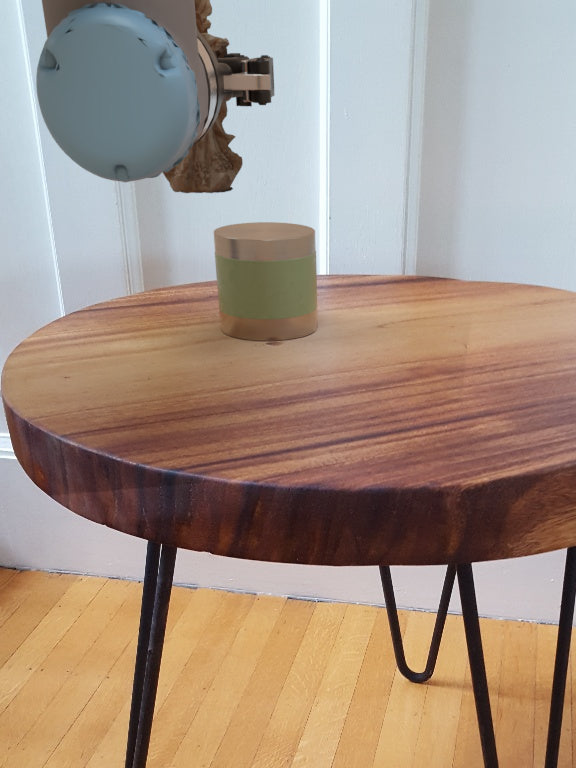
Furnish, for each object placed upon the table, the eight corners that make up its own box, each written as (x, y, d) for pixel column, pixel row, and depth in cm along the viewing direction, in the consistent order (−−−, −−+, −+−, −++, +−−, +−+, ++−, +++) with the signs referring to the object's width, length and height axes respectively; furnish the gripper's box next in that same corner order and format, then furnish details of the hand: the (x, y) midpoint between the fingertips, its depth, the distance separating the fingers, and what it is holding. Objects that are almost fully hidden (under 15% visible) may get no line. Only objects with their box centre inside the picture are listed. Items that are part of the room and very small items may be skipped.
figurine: (154, 196, 75) (125, -43, 66) (151, 186, 80) (124, -37, 71) (248, 193, 76) (231, -42, 68) (240, 183, 81) (223, -36, 73)
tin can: (209, 338, 92) (201, 238, 87) (233, 314, 100) (227, 220, 95) (308, 343, 91) (305, 241, 86) (324, 317, 99) (323, 223, 94)
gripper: (12, 154, 60) (86, 124, 79) (311, 156, 61) (313, 125, 80) (-14, 10, 56) (71, 15, 75) (308, 13, 57) (310, 18, 76)
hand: (196, 72), depth 78 cm, fingers closed on figurine, 6 cm apart
